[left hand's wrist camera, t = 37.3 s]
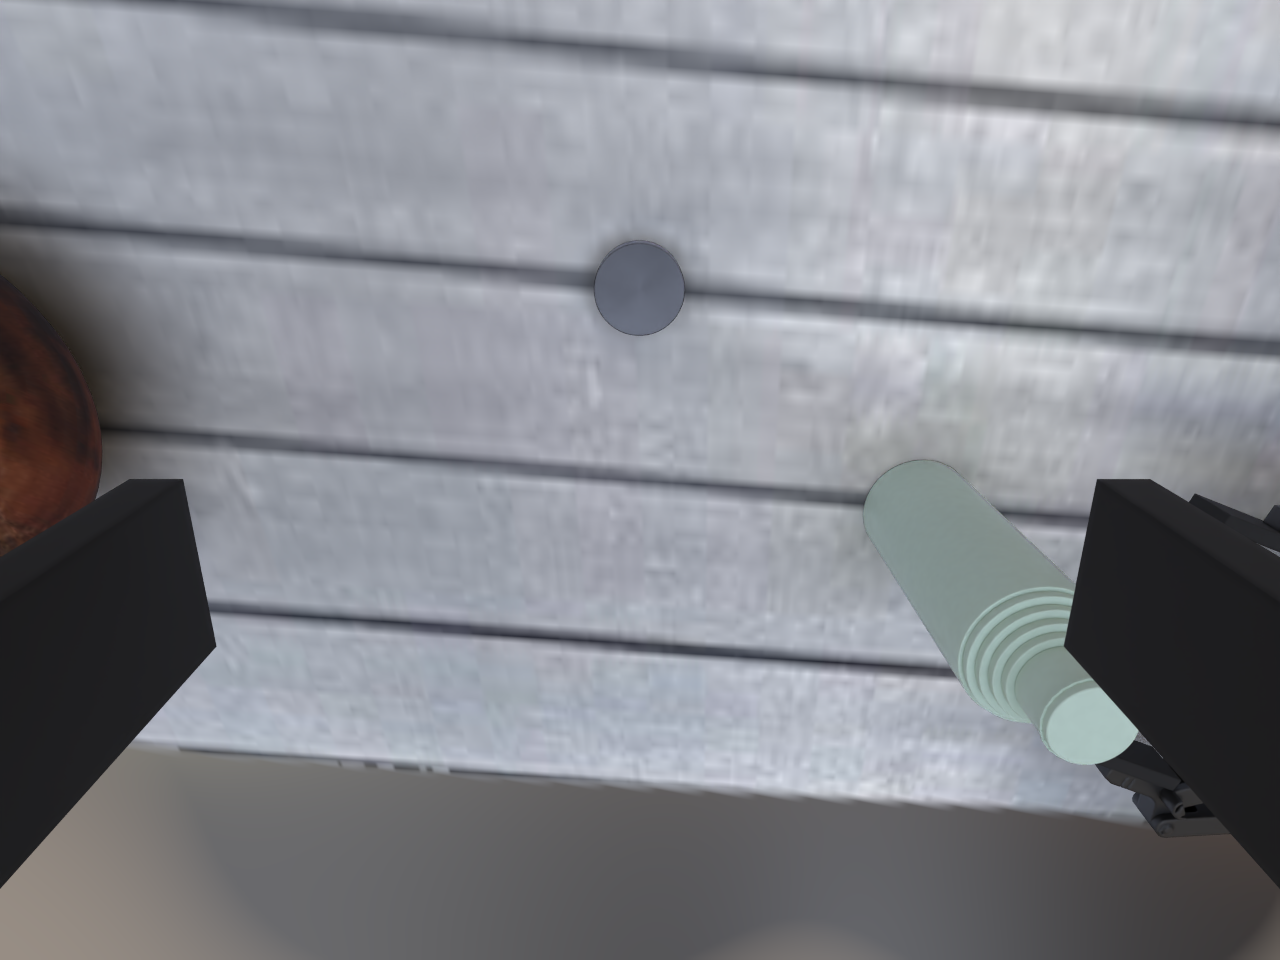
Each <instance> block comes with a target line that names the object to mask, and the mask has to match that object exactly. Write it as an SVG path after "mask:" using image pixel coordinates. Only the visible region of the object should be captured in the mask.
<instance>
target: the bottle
mask: <svg viewBox="0 0 1280 960" xmlns="http://www.w3.org/2000/svg"><path fill="white" fill-rule="evenodd" d="M863 520H864V526H865V529H866V532H867V534H868V536H869V538H870V540H871V541H872V543H873V544H874V546H875V548H876V549H877V551H878V552H879V554H880V556H881V557H882V559H883V560H884V562H885V564H886V565H887V567H888V568H889V570H890V571H891V573H892V575H893V576H894V578H895V579H896V581H897V583H898V584H899V586H900V587H901V589H902V591H903V592H904V594H905V595H906V597H907V599H908V600H909V602H910V603H911V605H912V607H913V608H914V610H915V611H916V613H917V615H918V616H919V618H920V619H921V621H922V623H923V624H924V626H925V627H926V629H927V631H928V632H929V634H930V635H931V637H932V639H933V640H934V642H935V643H936V645H937V646H938V648H939V650H940V651H941V653H942V654H943V656H944V658H945V659H946V661H947V662H948V664H949V666H950V667H951V669H952V670H953V672H954V674H955V675H956V677H957V678H958V680H959V682H960V683H961V685H962V686H963V688H964V690H965V691H966V693H967V694H968V695H969V696H970V698H971V699H972V700H973V701H974V702H975V703H977V704H978V705H979V706H981V707H982V708H984V709H985V710H987V711H989V712H990V713H992V714H994V715H996V716H998V717H1000V718H1003V719H1006V720H1009V721H1014V722H1021V723H1031V724H1033V725H1034V726H1035V728H1036V729H1037V730H1038V732H1039V733H1040V737H1041V740H1042V741H1043V743H1044V744H1045V746H1046V747H1047V749H1048V750H1049V751H1050V752H1052V753H1053V754H1054V755H1056V756H1057V757H1059V758H1061V759H1063V760H1065V761H1067V762H1070V763H1073V764H1079V765H1092V764H1098V763H1102V762H1105V761H1108V760H1110V759H1112V758H1114V757H1116V756H1118V755H1119V754H1121V753H1122V752H1123V751H1124V750H1126V749H1127V748H1128V747H1129V746H1130V744H1131V743H1132V742H1133V741H1134V739H1135V738H1136V736H1137V734H1138V731H1139V730H1138V729H1137V728H1136V727H1135V726H1134V725H1133V724H1132V722H1131V721H1130V720H1129V719H1128V718H1127V717H1126V716H1125V715H1124V714H1123V712H1122V711H1121V710H1120V709H1119V708H1118V707H1117V706H1116V705H1115V703H1114V702H1113V701H1112V700H1111V699H1110V698H1109V697H1108V696H1107V694H1106V693H1105V692H1104V691H1103V690H1102V689H1101V688H1100V687H1099V685H1098V684H1097V683H1096V682H1095V681H1094V680H1093V679H1092V678H1091V677H1090V675H1089V674H1088V673H1087V672H1086V671H1085V670H1084V669H1083V668H1082V666H1081V665H1080V664H1079V663H1078V662H1077V661H1076V660H1075V659H1074V657H1073V656H1072V655H1071V654H1070V653H1069V652H1068V651H1067V650H1066V649H1065V647H1064V642H1065V637H1066V632H1067V627H1068V622H1069V617H1070V612H1071V607H1072V602H1073V597H1074V592H1075V587H1076V584H1075V583H1074V582H1072V581H1071V580H1070V579H1069V578H1068V577H1067V576H1066V575H1065V574H1064V573H1063V572H1062V571H1061V570H1060V569H1059V568H1058V567H1057V566H1056V565H1055V564H1053V563H1052V562H1051V561H1050V560H1049V559H1048V558H1047V557H1046V556H1045V555H1044V554H1043V553H1042V552H1041V551H1040V550H1039V549H1038V548H1037V547H1036V546H1034V545H1033V544H1032V543H1031V542H1030V541H1029V540H1028V539H1027V538H1026V537H1025V536H1024V535H1023V534H1022V533H1021V532H1020V531H1019V530H1018V529H1017V528H1015V527H1014V526H1013V525H1012V524H1011V523H1010V522H1009V521H1008V520H1007V519H1006V518H1005V517H1004V516H1003V515H1002V514H1001V513H1000V512H999V511H998V510H996V509H995V508H994V507H993V506H992V505H991V504H990V503H989V502H988V501H987V500H986V499H985V498H984V497H983V496H982V495H981V494H980V493H979V492H978V491H976V490H975V489H974V488H973V487H972V486H971V485H970V484H969V483H968V482H967V481H966V480H965V479H964V478H963V477H962V476H961V475H960V474H959V473H957V472H956V471H955V470H954V469H952V468H951V467H949V466H947V465H945V464H943V463H940V462H936V461H930V460H916V461H910V462H907V463H903V464H901V465H898V466H896V467H894V468H892V469H891V470H889V471H888V472H886V473H885V474H884V475H883V476H881V477H880V478H879V479H878V480H877V482H876V483H875V484H874V485H873V487H872V488H871V490H870V492H869V494H868V496H867V498H866V501H865V505H864V510H863Z"/></svg>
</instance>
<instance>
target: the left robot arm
mask: <svg viewBox="0 0 1280 960" xmlns="http://www.w3.org/2000/svg"><path fill="white" fill-rule="evenodd" d="M215 647H216V642H215V637H214V632H213V627H212V622H211V617H210V612H209V607H208V602H207V597H206V592H205V587H204V582H203V577H202V572H201V567H200V562H199V557H198V552H197V547H196V542H195V537H194V532H193V527H192V522H191V517H190V512H189V507H188V502H187V497H186V492H185V487H184V482H183V479H129V480H128V481H126V482H124V483H123V484H121V485H119V486H118V487H116V488H114V489H113V490H111V491H109V492H108V493H106V494H104V495H103V496H101V497H99V498H98V499H96V500H94V501H93V502H91V503H89V504H88V505H86V506H84V507H83V508H81V509H80V510H78V511H76V512H75V513H73V514H71V515H70V516H68V517H66V518H65V519H63V520H61V521H60V522H58V523H56V524H55V525H53V526H51V527H50V528H48V529H46V530H45V531H43V532H41V533H40V534H38V535H36V536H35V537H33V538H31V539H30V540H28V541H26V542H25V543H23V544H21V545H20V546H18V547H16V548H15V549H13V550H11V551H10V552H8V553H6V554H5V555H3V556H2V557H0V888H1V887H2V886H3V885H4V884H5V883H6V882H7V880H8V879H9V878H10V877H11V876H12V875H13V874H14V873H15V872H16V870H17V869H18V868H19V867H20V866H21V865H22V864H23V862H24V861H25V860H26V859H27V858H28V857H29V856H30V855H31V854H32V852H33V851H34V850H35V849H36V848H37V847H38V846H39V845H40V844H41V842H42V841H43V840H44V839H45V838H46V837H47V836H48V835H49V833H50V832H51V831H52V830H53V829H54V828H55V827H56V826H57V824H58V823H59V822H60V821H61V820H62V819H63V818H64V817H65V815H66V814H67V813H68V812H69V811H70V810H71V809H72V808H73V806H74V805H75V804H76V803H77V802H78V801H79V800H80V799H81V798H82V796H83V795H84V794H85V793H86V792H87V791H88V790H89V789H90V787H91V786H92V785H93V784H94V783H95V782H96V781H97V780H98V779H99V777H100V776H101V775H102V774H103V773H104V772H105V771H106V770H107V768H108V767H109V766H110V765H111V764H112V763H113V762H114V761H115V759H116V758H117V757H118V756H119V755H120V754H121V753H122V752H123V750H124V749H125V748H126V747H127V746H128V745H129V744H130V743H131V742H132V740H133V739H134V738H135V737H136V736H137V735H138V734H139V733H140V731H141V730H142V729H143V728H144V727H145V726H146V725H147V724H148V722H149V721H150V720H151V719H152V718H153V717H154V716H155V715H156V714H157V712H158V711H159V710H160V709H161V708H162V707H163V706H164V705H165V703H166V702H167V701H168V700H169V699H170V698H171V697H172V696H173V694H174V693H175V692H176V691H177V690H178V689H179V688H180V687H181V685H182V684H183V683H184V682H185V681H186V680H187V679H188V678H189V677H190V675H191V674H192V673H193V672H194V671H195V670H196V669H197V668H198V666H199V665H200V664H201V663H202V662H203V661H204V660H205V659H206V657H207V656H208V655H209V654H210V653H211V652H212V651H213V650H214V649H215ZM1064 647H1065V649H1066V650H1067V651H1068V652H1069V653H1070V654H1071V655H1072V656H1073V657H1074V659H1075V660H1076V661H1077V662H1078V663H1079V664H1080V665H1081V666H1082V668H1083V669H1084V670H1085V671H1086V672H1087V673H1088V674H1089V675H1090V677H1091V678H1092V679H1093V680H1094V681H1095V682H1096V683H1097V684H1098V685H1099V687H1100V688H1101V689H1102V690H1103V691H1104V692H1105V693H1106V694H1107V696H1108V697H1109V698H1110V699H1111V700H1112V701H1113V702H1114V703H1115V705H1116V706H1117V707H1118V708H1119V709H1120V710H1121V711H1122V712H1123V714H1124V715H1125V716H1126V717H1127V718H1128V719H1129V720H1130V721H1131V722H1132V724H1133V725H1134V726H1135V727H1136V728H1137V729H1138V730H1139V731H1140V733H1141V734H1142V735H1143V736H1144V737H1145V738H1146V739H1147V740H1148V742H1149V743H1150V744H1151V745H1152V746H1153V747H1154V748H1155V749H1156V750H1157V752H1158V753H1159V754H1160V755H1161V756H1162V757H1163V758H1164V759H1165V761H1166V762H1167V763H1168V764H1169V765H1170V766H1171V767H1172V768H1173V770H1174V771H1175V772H1176V773H1177V774H1178V775H1179V776H1180V777H1181V779H1182V780H1183V781H1184V782H1185V783H1186V784H1187V785H1188V786H1189V787H1190V789H1191V790H1192V791H1193V792H1194V793H1195V794H1196V795H1197V796H1198V798H1199V799H1200V800H1201V801H1202V802H1203V803H1204V804H1205V805H1206V807H1207V808H1208V809H1209V810H1210V811H1211V812H1212V813H1213V814H1214V815H1215V817H1216V818H1217V819H1218V820H1219V821H1220V822H1221V823H1222V824H1223V826H1224V827H1225V828H1226V829H1227V830H1228V831H1229V832H1230V833H1231V835H1232V836H1233V837H1234V838H1235V839H1236V840H1237V841H1238V842H1239V843H1240V845H1241V846H1242V847H1243V848H1244V849H1245V850H1246V851H1247V852H1248V854H1249V855H1250V856H1251V857H1252V858H1253V859H1254V860H1255V861H1256V863H1257V864H1258V865H1259V866H1260V867H1261V868H1262V869H1263V870H1264V872H1265V873H1266V874H1267V875H1268V876H1269V877H1270V878H1271V879H1272V880H1273V882H1274V883H1275V884H1276V885H1277V886H1278V887H1279V888H1280V557H1278V556H1277V555H1275V554H1274V553H1272V552H1270V551H1269V550H1267V549H1265V548H1264V547H1262V546H1260V545H1259V544H1257V543H1255V542H1254V541H1252V540H1250V539H1249V538H1247V537H1245V536H1244V535H1242V534H1240V533H1239V532H1237V531H1235V530H1234V529H1232V528H1230V527H1229V526H1227V525H1225V524H1224V523H1222V522H1220V521H1219V520H1217V519H1215V518H1214V517H1212V516H1210V515H1209V514H1207V513H1205V512H1204V511H1202V510H1200V509H1199V508H1197V507H1196V506H1194V505H1192V504H1191V503H1189V502H1187V501H1186V500H1184V499H1182V498H1181V497H1179V496H1177V495H1176V494H1174V493H1172V492H1171V491H1169V490H1167V489H1166V488H1164V487H1162V486H1161V485H1159V484H1157V483H1156V482H1154V481H1152V480H1151V479H1097V482H1096V487H1095V492H1094V497H1093V502H1092V507H1091V512H1090V517H1089V522H1088V527H1087V532H1086V537H1085V542H1084V547H1083V552H1082V557H1081V562H1080V567H1079V572H1078V577H1077V582H1076V587H1075V592H1074V597H1073V602H1072V607H1071V612H1070V617H1069V622H1068V627H1067V632H1066V637H1065V642H1064Z"/></svg>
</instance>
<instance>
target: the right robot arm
mask: <svg viewBox="0 0 1280 960" xmlns="http://www.w3.org/2000/svg"><path fill="white" fill-rule="evenodd" d="M1189 503H1191V504H1192V505H1194V506H1196V507H1197V508H1199V509H1200V510H1202V511H1204V512H1205V513H1207V514H1209V515H1210V516H1212V517H1214V518H1215V519H1217V520H1219V521H1220V522H1222V523H1224V524H1225V525H1227V526H1229V527H1230V528H1232V529H1234V530H1235V531H1237V532H1239V533H1240V534H1242V535H1244V536H1245V537H1247V538H1249V539H1250V540H1252V541H1254V542H1255V543H1258V544H1260V545H1263V546H1265V547H1268V548H1270V549H1273V550H1275V551H1278V552H1280V505H1275V506H1274V507H1273V508H1272V510H1271V511H1270V513H1269V514H1268V515H1267V517H1266V518H1265V520H1264V521H1262V520H1260V519H1257V518H1255V517H1252V516H1250V515H1247V514H1245V513H1242V512H1240V511H1237V510H1235V509H1232V508H1230V507H1227V506H1225V505H1222V504H1220V503H1217V502H1215V501H1212V500H1210V499H1207V498H1205V497H1202V496H1200V495H1197V494H1194V496H1193V497H1192V499H1191V500H1190V502H1189ZM1095 765H1096V766H1097V768H1098V769H1099V770H1100V772H1101V773H1102V774H1103V776H1104V777H1105V778H1106V779H1107V780H1108V781H1109V782H1110V783H1111V784H1114V785H1117V786H1121V787H1122V788H1125V789H1128V790H1131V791H1134V792H1136V793H1135V794H1134V795H1133V798H1132V800H1133V802H1134V804H1135V805H1136V806H1137V808H1138V809H1139V811H1140V812H1141V813H1142V815H1143V816H1144V817H1145V819H1146V820H1147V821H1148V823H1149V824H1150V825H1151V827H1152V828H1153V829H1154V830H1155V832H1156V833H1157V834H1158V836H1160V837H1165V838H1168V837H1186V836H1202V835H1220V834H1231V833H1230V832H1229V831H1228V830H1227V829H1226V828H1225V827H1224V826H1223V824H1222V823H1221V822H1220V821H1219V820H1218V819H1217V818H1216V817H1215V815H1214V814H1213V813H1212V812H1211V811H1210V810H1209V809H1208V808H1207V807H1206V805H1205V804H1204V803H1203V802H1202V801H1201V800H1200V799H1199V798H1198V796H1197V795H1196V794H1195V793H1194V792H1193V791H1192V790H1191V789H1190V787H1189V786H1188V785H1187V784H1186V783H1185V782H1184V781H1183V780H1182V779H1181V777H1180V776H1179V775H1178V774H1177V773H1176V772H1175V771H1174V770H1173V768H1172V767H1171V766H1170V765H1169V764H1168V763H1167V762H1166V761H1165V759H1164V758H1162V757H1161V756H1160V755H1159V754H1158V753H1157V751H1156V750H1155V749H1154V748H1153V747H1152V746H1149V745H1146V744H1143V743H1141V742H1138V741H1135V740H1134V741H1133V742H1132V743H1131V744H1130V746H1129V747H1128V748H1127V749H1126V750H1124V751H1123V752H1122V753H1121V754H1119V755H1118V756H1116V757H1114V758H1112V759H1110V760H1108V761H1105V762H1102V763H1098V764H1095Z"/></svg>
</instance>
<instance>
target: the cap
mask: <svg viewBox="0 0 1280 960" xmlns="http://www.w3.org/2000/svg"><path fill="white" fill-rule="evenodd" d="M684 295H685V284H684V279H683V275H682V272H681V270H680V267H679V265H678V263H677V261H676V260H675V258H674V257H673V256H672V255H671V254H670V253H669V252H668V251H667V250H666V249H665V248H663V247H661V246H660V245H658V244H655V243H653V242H649V241H643V240H636V241H630V242H626V243H623V244H621V245H619V246H617V247H616V248H614V249H613V250H612V251H611V252H610V253H609V254H608V255H607V256H606V257H605V258H604V260H603V261H602V263H601V265H600V267H599V269H598V272H597V274H596V278H595V283H594V296H595V301H596V305H597V307H598V309H599V311H600V313H601V315H602V316H603V318H604V319H605V320H606V321H607V322H608V323H609V324H610V325H611V326H612V327H614V328H615V329H617V330H619V331H621V332H623V333H626V334H630V335H636V336H643V335H649V334H653V333H656V332H658V331H660V330H662V329H664V328H665V327H666V326H668V325H669V324H670V323H671V322H672V321H673V320H674V319H675V317H676V316H677V315H678V313H679V311H680V309H681V307H682V304H683V301H684Z"/></svg>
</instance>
